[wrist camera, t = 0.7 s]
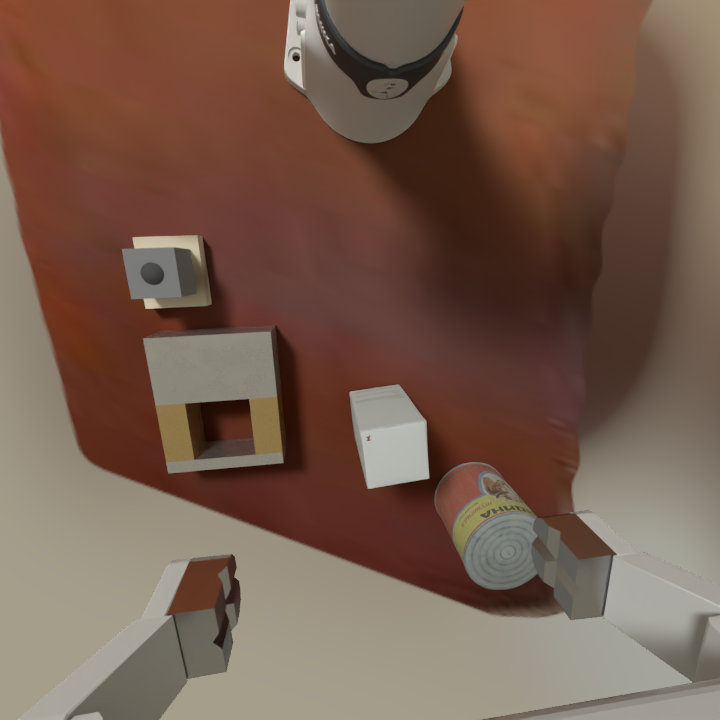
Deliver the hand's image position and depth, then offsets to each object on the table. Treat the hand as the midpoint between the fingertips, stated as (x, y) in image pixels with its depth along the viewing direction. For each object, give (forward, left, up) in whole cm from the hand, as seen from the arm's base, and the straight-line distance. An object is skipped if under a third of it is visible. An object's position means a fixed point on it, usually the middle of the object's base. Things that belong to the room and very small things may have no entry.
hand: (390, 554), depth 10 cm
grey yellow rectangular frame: (+8, -14, -40) cm, 43 cm away
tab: (-7, -18, -40) cm, 45 cm away
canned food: (+28, +20, -40) cm, 52 cm away
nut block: (-7, -18, -38) cm, 43 cm away
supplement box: (+13, +6, -40) cm, 42 cm away
